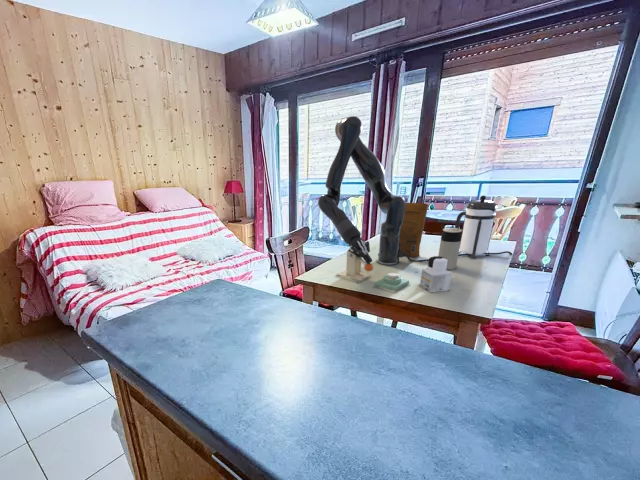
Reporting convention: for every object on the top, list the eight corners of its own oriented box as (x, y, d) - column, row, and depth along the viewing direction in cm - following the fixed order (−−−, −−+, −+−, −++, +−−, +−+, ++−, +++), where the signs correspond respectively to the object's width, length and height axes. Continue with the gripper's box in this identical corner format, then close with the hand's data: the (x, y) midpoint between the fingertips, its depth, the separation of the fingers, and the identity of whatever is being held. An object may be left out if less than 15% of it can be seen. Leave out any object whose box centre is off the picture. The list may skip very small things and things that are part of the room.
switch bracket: (370, 277, 149) (372, 250, 144) (358, 282, 144) (360, 254, 139) (348, 271, 157) (349, 245, 153) (336, 276, 152) (337, 250, 148)
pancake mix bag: (418, 259, 168) (425, 204, 157) (383, 253, 181) (387, 202, 171) (423, 256, 172) (431, 202, 162) (389, 250, 185) (393, 200, 175)
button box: (388, 280, 144) (389, 271, 143) (408, 285, 138) (409, 276, 136) (374, 287, 138) (375, 278, 136) (394, 292, 131) (395, 283, 130)
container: (419, 285, 137) (423, 255, 132) (437, 283, 137) (441, 254, 132) (430, 292, 129) (434, 261, 125) (448, 290, 130) (454, 259, 125)
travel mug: (458, 269, 151) (465, 231, 144) (439, 269, 152) (445, 231, 145) (452, 264, 158) (458, 227, 151) (434, 264, 159) (440, 227, 153)
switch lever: (372, 271, 144) (376, 266, 141) (367, 274, 142) (371, 268, 139) (352, 254, 149) (356, 248, 147) (347, 255, 147) (351, 250, 145)
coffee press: (489, 251, 172) (501, 193, 161) (489, 260, 160) (503, 197, 149) (451, 248, 181) (460, 193, 170) (449, 256, 169) (459, 197, 158)
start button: (390, 275, 139) (390, 272, 138) (399, 278, 136) (399, 274, 135) (385, 278, 137) (385, 274, 136) (394, 280, 134) (394, 276, 133)
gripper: (343, 228, 139) (367, 261, 134) (362, 223, 146) (384, 254, 142) (333, 238, 145) (355, 270, 140) (351, 233, 152) (373, 263, 148)
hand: (370, 262), depth 141 cm, fingers closed
